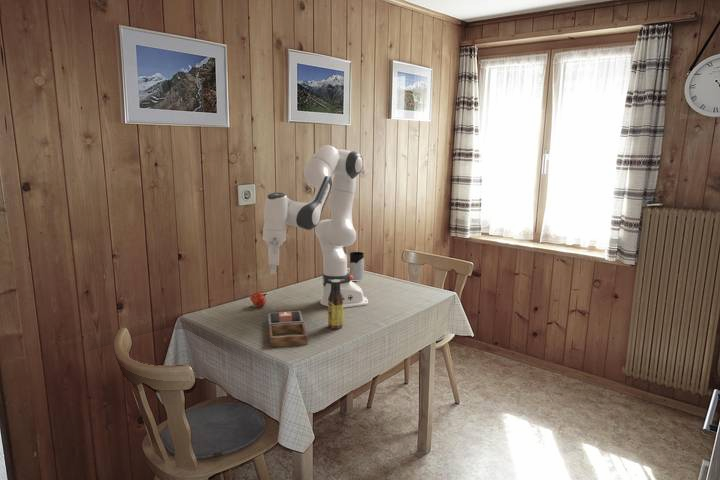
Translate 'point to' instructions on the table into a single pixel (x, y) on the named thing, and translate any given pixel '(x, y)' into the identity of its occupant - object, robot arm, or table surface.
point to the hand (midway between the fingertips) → (272, 270)
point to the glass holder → (356, 265)
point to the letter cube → (285, 317)
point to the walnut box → (288, 339)
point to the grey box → (275, 317)
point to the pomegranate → (258, 300)
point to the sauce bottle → (335, 306)
